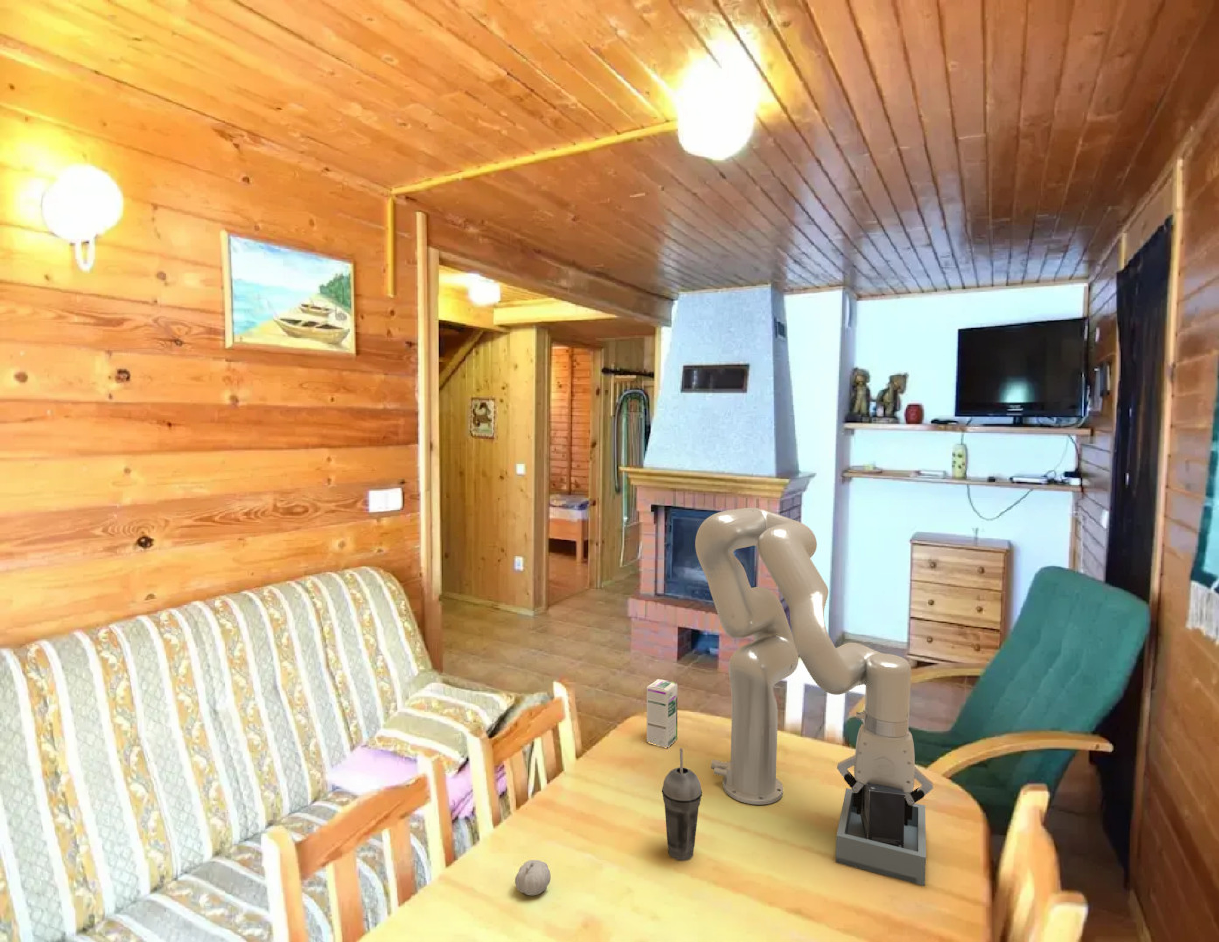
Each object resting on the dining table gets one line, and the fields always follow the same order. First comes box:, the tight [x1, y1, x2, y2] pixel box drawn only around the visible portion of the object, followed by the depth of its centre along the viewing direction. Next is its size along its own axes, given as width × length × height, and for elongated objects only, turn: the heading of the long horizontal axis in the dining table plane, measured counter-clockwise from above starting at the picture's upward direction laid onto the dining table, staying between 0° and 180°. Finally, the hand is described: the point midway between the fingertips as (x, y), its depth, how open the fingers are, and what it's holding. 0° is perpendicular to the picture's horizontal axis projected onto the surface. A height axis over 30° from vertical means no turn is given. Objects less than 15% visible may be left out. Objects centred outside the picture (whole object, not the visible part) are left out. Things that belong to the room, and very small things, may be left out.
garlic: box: [514, 859, 551, 896], centre depth 112 cm, size 6×5×5 cm
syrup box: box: [646, 678, 678, 748], centre depth 165 cm, size 6×6×14 cm
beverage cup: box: [661, 747, 703, 862], centre depth 122 cm, size 7×7×20 cm
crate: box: [835, 787, 927, 887], centre depth 125 cm, size 14×17×5 cm
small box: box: [860, 782, 905, 848], centre depth 125 cm, size 11×6×10 cm, turn 167°
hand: (882, 815), depth 125 cm, fingers open, 7 cm apart
